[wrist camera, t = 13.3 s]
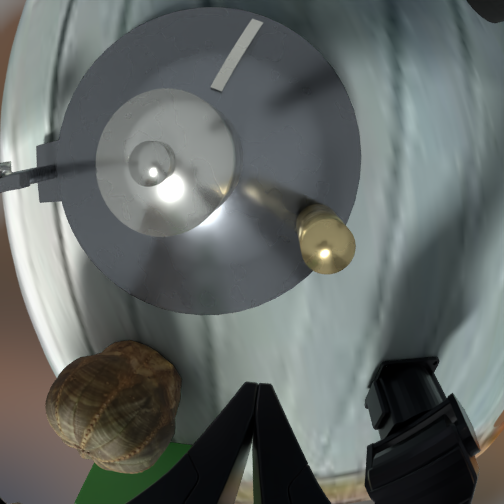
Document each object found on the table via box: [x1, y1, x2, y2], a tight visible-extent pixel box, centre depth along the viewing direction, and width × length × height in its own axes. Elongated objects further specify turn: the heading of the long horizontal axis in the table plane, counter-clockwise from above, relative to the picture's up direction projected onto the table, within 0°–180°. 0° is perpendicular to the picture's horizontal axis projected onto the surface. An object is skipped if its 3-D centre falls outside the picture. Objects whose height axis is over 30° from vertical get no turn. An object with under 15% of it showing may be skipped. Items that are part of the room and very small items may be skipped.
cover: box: [96, 88, 243, 237], centre depth 13 cm, size 7×7×4 cm
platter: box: [57, 7, 361, 315], centre depth 14 cm, size 20×20×5 cm
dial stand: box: [0, 140, 61, 203], centre depth 14 cm, size 7×5×10 cm
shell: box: [46, 340, 182, 474], centre depth 19 cm, size 11×11×12 cm
